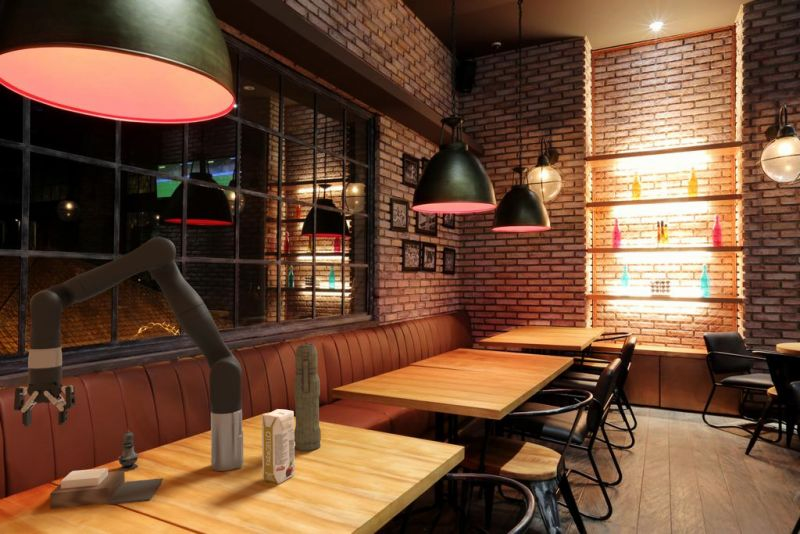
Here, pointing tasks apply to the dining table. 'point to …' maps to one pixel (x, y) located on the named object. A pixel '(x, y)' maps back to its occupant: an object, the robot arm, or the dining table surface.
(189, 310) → the robot arm
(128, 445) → the salt shaker
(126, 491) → the mat
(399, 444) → the dining table surface
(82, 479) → the tile
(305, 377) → the thermos
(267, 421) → the juice carton
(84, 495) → the block
